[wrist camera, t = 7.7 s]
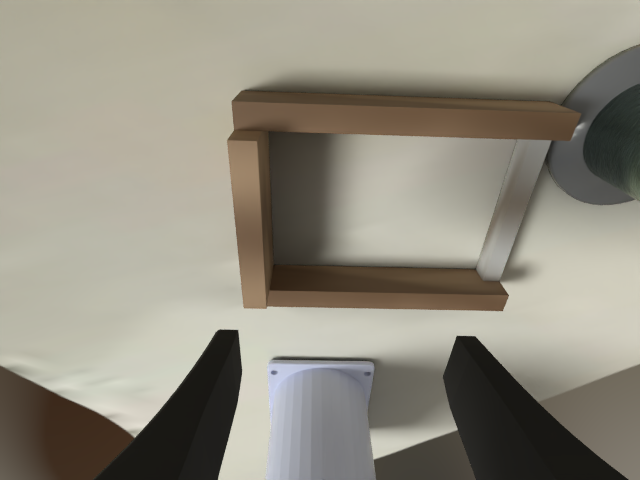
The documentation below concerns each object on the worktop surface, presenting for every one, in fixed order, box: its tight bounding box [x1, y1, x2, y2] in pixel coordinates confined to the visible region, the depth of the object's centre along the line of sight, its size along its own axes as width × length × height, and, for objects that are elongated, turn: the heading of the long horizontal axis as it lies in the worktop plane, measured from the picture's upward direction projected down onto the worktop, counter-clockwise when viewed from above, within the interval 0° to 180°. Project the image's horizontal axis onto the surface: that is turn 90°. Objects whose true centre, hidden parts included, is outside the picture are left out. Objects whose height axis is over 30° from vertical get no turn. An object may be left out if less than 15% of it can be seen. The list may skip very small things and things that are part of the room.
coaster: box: [546, 45, 640, 205], centre depth 18 cm, size 8×8×1 cm
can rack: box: [227, 91, 581, 311], centre depth 19 cm, size 11×15×4 cm
